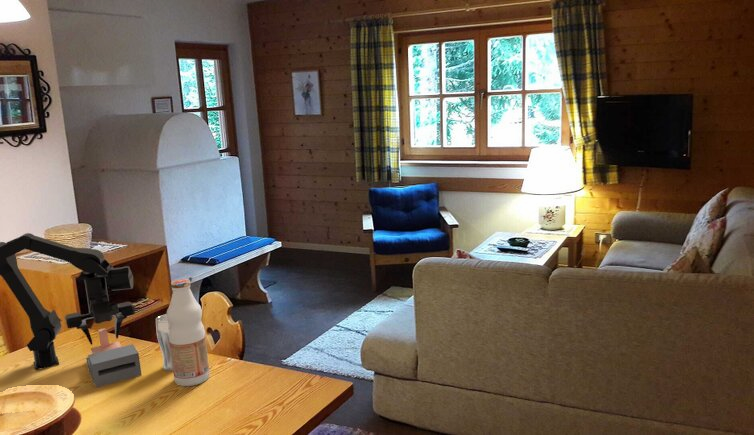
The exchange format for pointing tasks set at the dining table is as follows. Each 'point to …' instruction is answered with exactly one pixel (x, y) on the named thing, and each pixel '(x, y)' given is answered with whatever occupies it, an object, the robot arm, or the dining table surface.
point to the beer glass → (164, 341)
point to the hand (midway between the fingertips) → (104, 341)
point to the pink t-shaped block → (105, 343)
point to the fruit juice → (187, 336)
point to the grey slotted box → (114, 365)
